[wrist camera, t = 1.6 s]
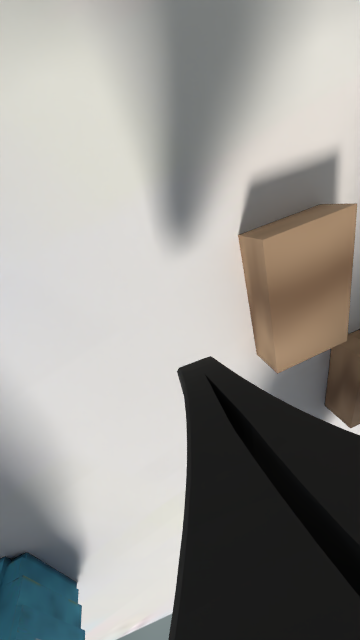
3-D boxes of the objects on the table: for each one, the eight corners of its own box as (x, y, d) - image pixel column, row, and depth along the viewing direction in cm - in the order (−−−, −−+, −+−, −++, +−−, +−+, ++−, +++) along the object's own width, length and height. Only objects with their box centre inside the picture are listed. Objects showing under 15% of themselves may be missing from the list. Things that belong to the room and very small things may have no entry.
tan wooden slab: (315, 323, 17) (347, 340, 15) (254, 351, 16) (277, 373, 14) (314, 204, 13) (357, 203, 11) (234, 234, 13) (262, 239, 10)
